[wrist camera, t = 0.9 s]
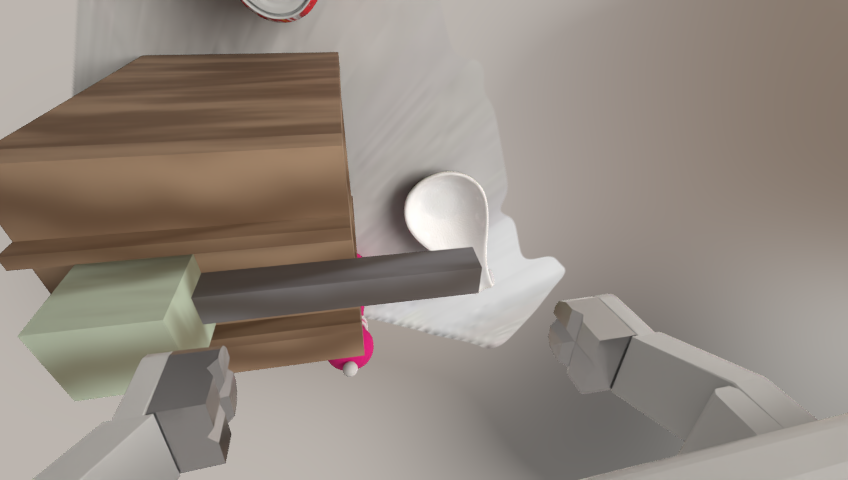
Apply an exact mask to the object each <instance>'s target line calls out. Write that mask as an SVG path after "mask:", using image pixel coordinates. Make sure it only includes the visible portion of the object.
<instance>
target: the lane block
mask: <svg viewBox="0 0 848 480" xmlns="http://www.w3.org/2000/svg"><path fill="white" fill-rule="evenodd" d="M481 272H482V266H481V264H480V262H479V260H478V258H477V256H476V253H475V251H474V249H473V247H465V248H455V249H445V250H434V251H424V252H413V253H403V254H393V255H382V256H372V257H361V258H351V259H340V260H330V261H320V262H309V263H299V264H288V265H278V266H268V267H257V268H247V269H236V270H226V271H215V272H205V273H201V271H200V269H199V266H198V264H197V261H196V259H195V256H194V254H189V255H178V256H167V257H155V258H144V259H133V260H122V261H110V262H99V263H88V264H77V265H74V266H73V267H72V269H71V270H70V271H69V272H68V274H67V275H66V276H65V277H64V279H63V280H62V281H61V282H60V284H59V285H58V286H57V287H56V289H55V290H54V291H53V292H52V294H51V295H50V296H49V297H48V299H47V300H46V301H45V302H44V304H43V305H42V306H41V307H40V309H39V310H38V311H37V312H36V314H35V315H34V316H33V318H32V319H31V320H30V321H29V322H28V324H27V325H26V326H25V327H24V329H23V330H22V331H21V332H20V334H19V335H18V337H19V339H20V340H21V341H22V342H23V343H24V344H25V345H26V346H27V348H28V349H29V350H30V351H31V352H32V353H33V355H34V356H35V357H36V358H37V359H38V360H39V361H40V362H41V364H42V365H43V366H44V367H45V368H46V369H47V370H48V372H49V373H50V374H51V375H52V376H53V377H54V378H55V379H56V381H57V382H58V383H59V384H60V385H61V386H62V387H63V389H64V390H65V391H66V392H67V393H68V394H69V395H70V397H71V398H72V399H73V400H74V401H80V400H87V399H94V398H102V397H109V396H116V395H124V394H125V392H126V390H127V388H128V386H129V384H130V382H131V380H132V378H133V375H134V373H135V371H136V369H137V367H138V365H139V363H140V361H141V360H142V358H144V357H145V356H146V355H147V354H155V353H164V352H173V351H178V350H187V349H196V348H205V347H209V345H210V342H211V338H212V335H213V332H214V329H215V325H216V323H221V322H229V321H238V320H247V319H256V318H264V317H273V316H282V315H290V314H299V313H308V312H317V311H325V310H334V309H343V308H351V307H360V306H369V305H377V304H386V303H395V302H404V301H412V300H421V299H430V298H438V297H447V296H456V295H465V294H473V293H479V286H480V279H481Z"/></svg>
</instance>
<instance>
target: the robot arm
mask: <svg viewBox="0 0 848 480" xmlns="http://www.w3.org/2000/svg"><path fill="white" fill-rule="evenodd" d="M554 315H555V316H556V318H557V319H556V321H555V322H554V323H553V324H552V325H551V326H550V330H549V336H548V338H549V344H550V348H551V350H552V353H553V355H554V356H555V358H556V359H557V361H559V362H561V363H562V364H564V365H566V366H567V367H568V368H567V375H568V376H569V378H570V379H571V380H572V382H573V383H574V385H575V386H576V387H577V389H578V390H579V392H580V393H581V394H587V393H593V392H599V391H605V390H611V392H613V393H614V394H616V395H617V396H619V397H620V398H621V399H623V400H625V401H626V402H628V403H629V404H630V405H632V406H633V407H635V408H636V409H638V410H639V411H640V412H642V413H643V414H645V415H646V416H648V417H649V418H651V419H652V420H654V421H655V422H656V423H658V424H659V425H661V426H662V427H664V428H665V429H667V430H668V431H670V432H671V433H672V434H674V435H675V436H677V437H678V438H680V439H681V440H683V441H684V444H683V446H682V448H681V449H680V451H679V453H678V455H676V456H672V457H668V458H664V459H660V460H656V461H652V462H648V463H644V464H640V465H636V466H632V467H628V468H624V469H620V470H616V471H612V472H608V473H604V474H600V475H596V476H592V477H588V478H584V479H580V480H848V413H845V414H841V415H837V416H833V417H829V418H825V419H821V420H817V419H816V418H815V417H814V416H812V415H811V414H810V413H809V412H808V411H806V410H805V409H804V408H803V407H802V406H800V405H799V404H798V403H797V402H795V401H794V400H793V399H792V398H790V397H789V396H788V395H787V394H786V393H784V392H783V391H782V390H781V389H779V388H778V387H777V386H776V385H774V384H773V383H772V382H771V381H770V380H768V379H767V378H766V377H764V376H761V375H759V374H757V373H754V372H752V371H750V370H747V369H745V368H743V367H740V366H738V365H736V364H733V363H731V362H729V361H726V360H724V359H722V358H719V357H717V356H715V355H713V354H710V353H708V352H705V351H703V350H701V349H699V348H696V347H694V346H692V345H689V344H687V343H684V342H682V341H680V340H678V339H675V338H673V337H671V336H668V335H666V334H664V333H661V332H657V333H655V332H654V331H653V330H652V329H651V328H649V326H647V325H646V324H645V323H644V322H643V321H642V320H641V319H640V318H639V317H638V316H637V315H636V314H635V313H633V312H632V311H631V310H630V309H629V308H628V307H627V306H626V305H625V304H624V303H623V302H622V301H621V300H620V299H618V298H617V297H616V296H615V295H612V294H603V295H597V296H593V297H585V298H578V299H571V300H563V301H559V302H558V303H557V305H556V307H555V310H554ZM229 360H230V357H229V354H228V351H227V348H226V347H225V346H214V347H205V348H196V349H187V350H178V351H173V352H164V353H155V354H147V355H146V356H145V357H144V358H142V360H141V361H140V363H139V365H138V367H137V369H136V371H135V373H134V375H133V378H132V380H131V382H130V384H129V386H128V388H127V390H126V392H125V394H124V396H123V398H122V400H121V402H120V404H119V406H118V408H117V410H116V413H115V415H114V417H113V419H112V421H107V422H102V423H101V424H100V425H99V426H98V427H96V428H95V429H94V430H92V431H91V432H90V433H89V434H88V435H87V436H85V437H84V438H83V439H81V440H80V441H79V442H78V443H77V444H75V445H74V446H73V447H71V448H70V449H69V450H68V451H67V452H66V453H64V454H63V455H62V456H60V457H59V458H58V459H57V460H55V461H54V462H53V463H52V464H51V465H49V466H48V467H47V468H46V469H44V470H43V471H42V472H41V473H39V474H38V475H37V476H36V477H35V478H33V479H32V480H178V478H179V477H180V474H179V473H184V472H188V471H193V470H197V469H202V468H207V467H211V466H216V465H220V464H224V463H226V459H227V454H228V449H229V443H230V438H231V431H230V428H229V425H228V422H229V421H230V420H231V419H232V418H233V417H234V416H235V410H236V404H237V387H236V379H235V376H234V373H233V372H232V371H230V370H229V369H228V364H229Z"/></svg>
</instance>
